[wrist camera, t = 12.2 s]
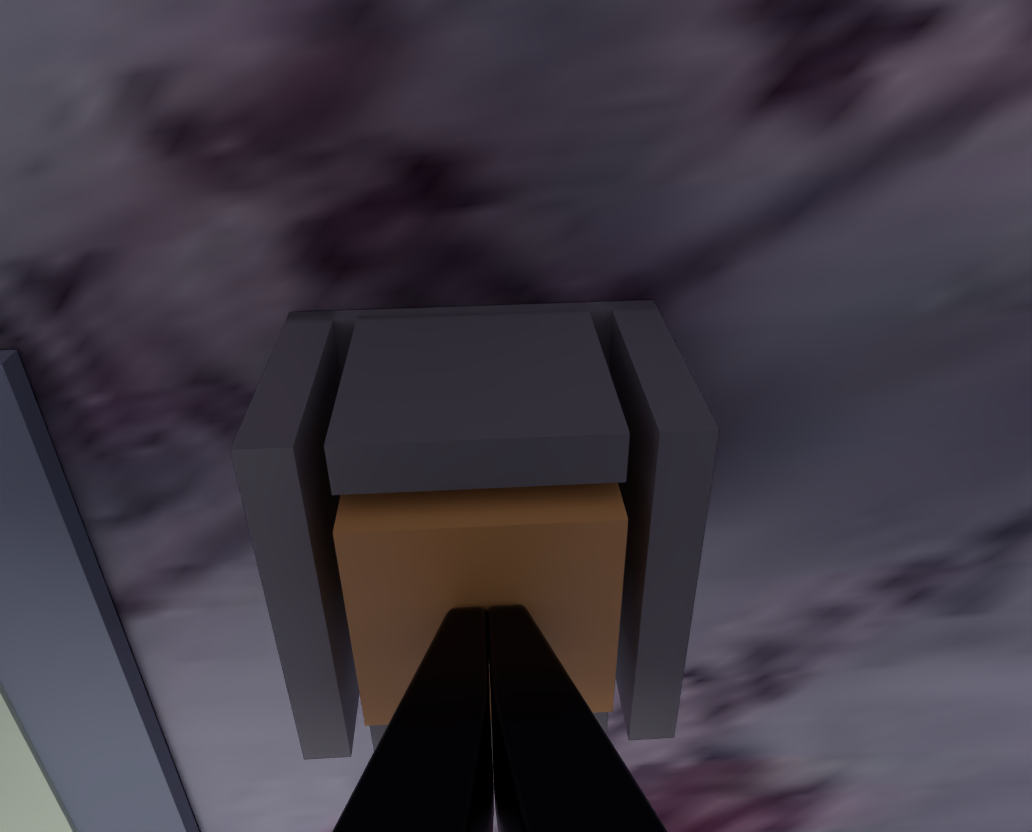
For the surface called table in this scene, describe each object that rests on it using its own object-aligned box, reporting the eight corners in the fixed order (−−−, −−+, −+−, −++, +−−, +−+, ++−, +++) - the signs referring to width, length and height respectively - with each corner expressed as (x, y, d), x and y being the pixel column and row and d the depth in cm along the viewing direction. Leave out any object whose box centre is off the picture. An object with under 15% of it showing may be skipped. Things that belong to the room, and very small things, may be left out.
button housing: (629, 569, 13) (674, 737, 10) (335, 583, 13) (304, 758, 10) (653, 299, 11) (720, 429, 8) (289, 311, 10) (230, 449, 8)
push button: (583, 561, 12) (612, 711, 10) (383, 571, 12) (364, 725, 10) (591, 388, 10) (628, 519, 8) (361, 397, 10) (333, 533, 8)
